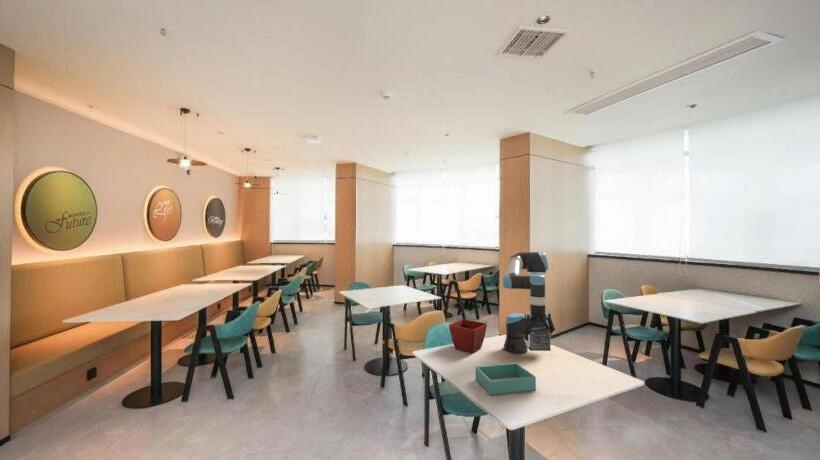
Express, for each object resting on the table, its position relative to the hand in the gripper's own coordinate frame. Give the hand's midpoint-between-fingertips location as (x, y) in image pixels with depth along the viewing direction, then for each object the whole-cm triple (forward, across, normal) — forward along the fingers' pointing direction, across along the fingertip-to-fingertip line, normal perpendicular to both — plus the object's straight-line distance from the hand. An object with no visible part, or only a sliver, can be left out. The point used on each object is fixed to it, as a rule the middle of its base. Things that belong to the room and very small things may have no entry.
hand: (538, 345), depth 175 cm
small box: (+2, 0, 0) cm, 2 cm away
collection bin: (+18, +20, +1) cm, 27 cm away
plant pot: (+18, +18, -52) cm, 58 cm away
